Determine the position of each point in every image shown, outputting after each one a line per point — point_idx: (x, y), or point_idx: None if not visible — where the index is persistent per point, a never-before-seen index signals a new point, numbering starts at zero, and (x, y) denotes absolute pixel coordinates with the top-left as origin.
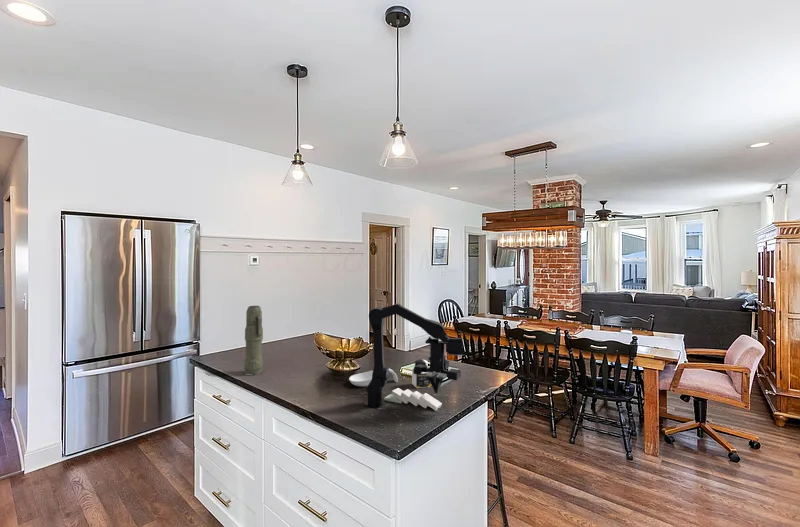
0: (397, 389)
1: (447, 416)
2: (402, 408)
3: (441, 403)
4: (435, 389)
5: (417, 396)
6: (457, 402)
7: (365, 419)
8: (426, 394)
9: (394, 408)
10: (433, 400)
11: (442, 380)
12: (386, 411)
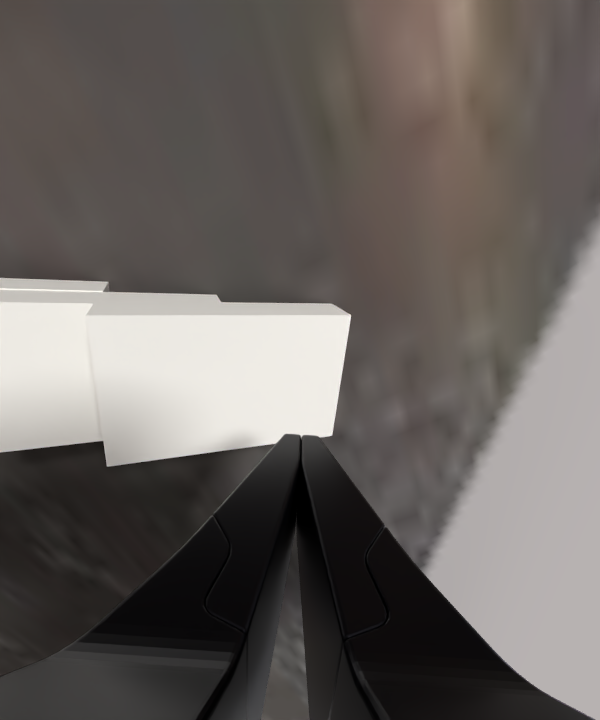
0: None
1: (441, 479)
2: (55, 475)
3: (345, 327)
4: (292, 542)
5: (52, 405)
6: (497, 50)
7: (3, 664)
8: (122, 346)
9: (6, 496)
10: (257, 373)
11: (488, 678)
12: (5, 555)
